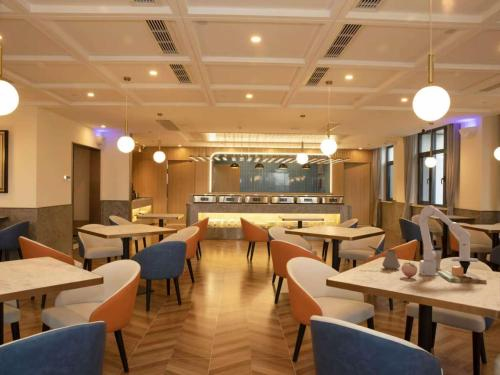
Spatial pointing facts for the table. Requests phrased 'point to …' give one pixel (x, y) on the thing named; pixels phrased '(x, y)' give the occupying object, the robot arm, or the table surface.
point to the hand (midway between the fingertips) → (464, 273)
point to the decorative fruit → (409, 269)
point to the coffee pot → (389, 259)
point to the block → (457, 270)
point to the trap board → (462, 277)
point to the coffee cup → (438, 255)
